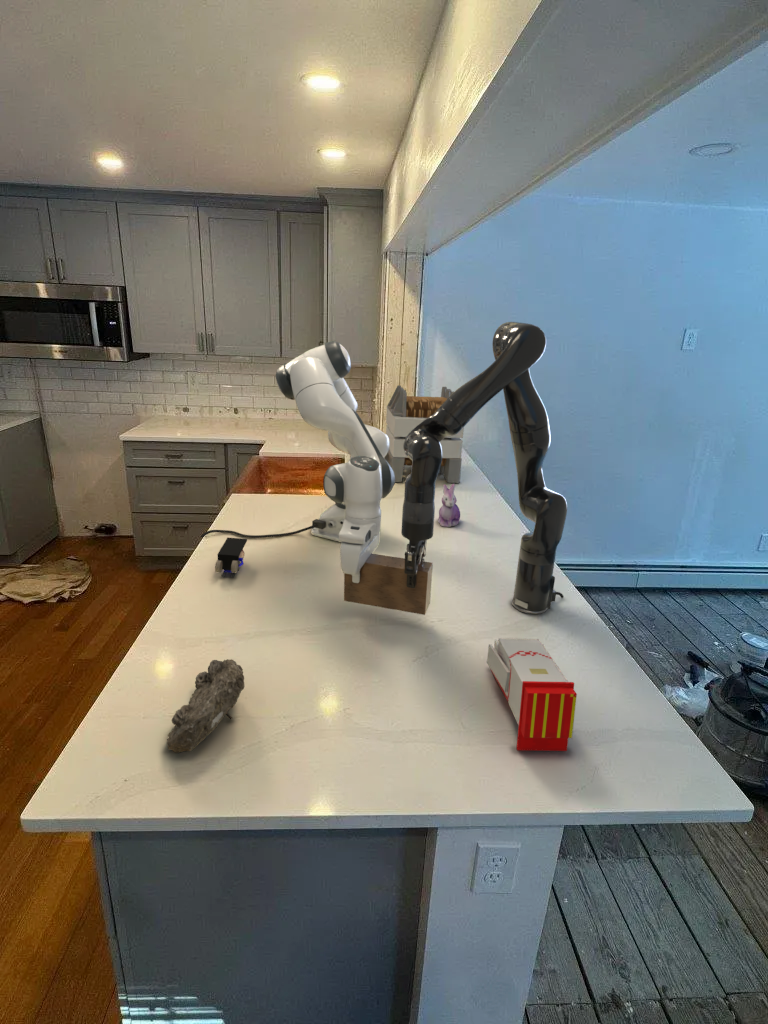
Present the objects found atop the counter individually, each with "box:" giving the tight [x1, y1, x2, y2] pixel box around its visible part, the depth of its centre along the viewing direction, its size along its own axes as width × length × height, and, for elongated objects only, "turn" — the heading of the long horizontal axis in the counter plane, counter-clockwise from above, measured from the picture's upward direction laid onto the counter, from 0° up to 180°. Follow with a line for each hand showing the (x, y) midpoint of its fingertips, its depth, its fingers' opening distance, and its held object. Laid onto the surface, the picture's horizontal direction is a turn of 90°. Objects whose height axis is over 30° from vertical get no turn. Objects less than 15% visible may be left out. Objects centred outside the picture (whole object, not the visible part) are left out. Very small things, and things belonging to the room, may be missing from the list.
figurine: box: [437, 483, 461, 528], centre depth 209 cm, size 9×10×15 cm
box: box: [343, 553, 434, 616], centre depth 141 cm, size 21×6×12 cm, turn 74°
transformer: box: [384, 384, 465, 484], centre depth 268 cm, size 34×33×41 cm
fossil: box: [166, 658, 245, 754], centre depth 106 cm, size 22×10×15 cm
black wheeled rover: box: [214, 537, 248, 578], centre depth 166 cm, size 7×8×15 cm
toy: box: [486, 637, 578, 752], centre depth 114 cm, size 12×13×30 cm
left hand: (361, 575), depth 142 cm, fingers closed on box, 6 cm apart
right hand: (414, 581), depth 139 cm, fingers closed on box, 6 cm apart
